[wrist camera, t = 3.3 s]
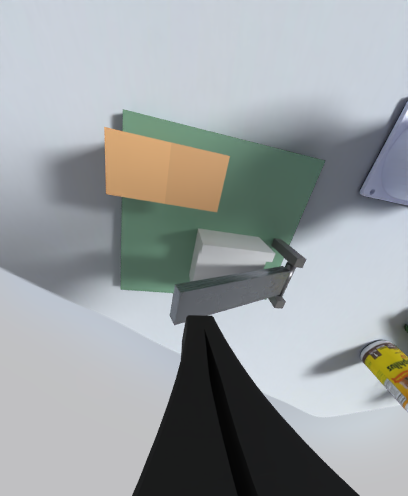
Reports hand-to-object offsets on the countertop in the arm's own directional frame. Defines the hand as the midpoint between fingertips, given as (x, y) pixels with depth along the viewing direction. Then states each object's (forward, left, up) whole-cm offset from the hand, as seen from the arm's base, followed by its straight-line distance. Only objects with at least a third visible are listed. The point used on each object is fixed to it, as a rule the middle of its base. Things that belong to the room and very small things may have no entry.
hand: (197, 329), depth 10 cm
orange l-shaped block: (+3, -7, -9) cm, 11 cm away
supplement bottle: (-35, +15, -10) cm, 39 cm away
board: (-2, -2, -10) cm, 10 cm away
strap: (-4, 0, -4) cm, 6 cm away
